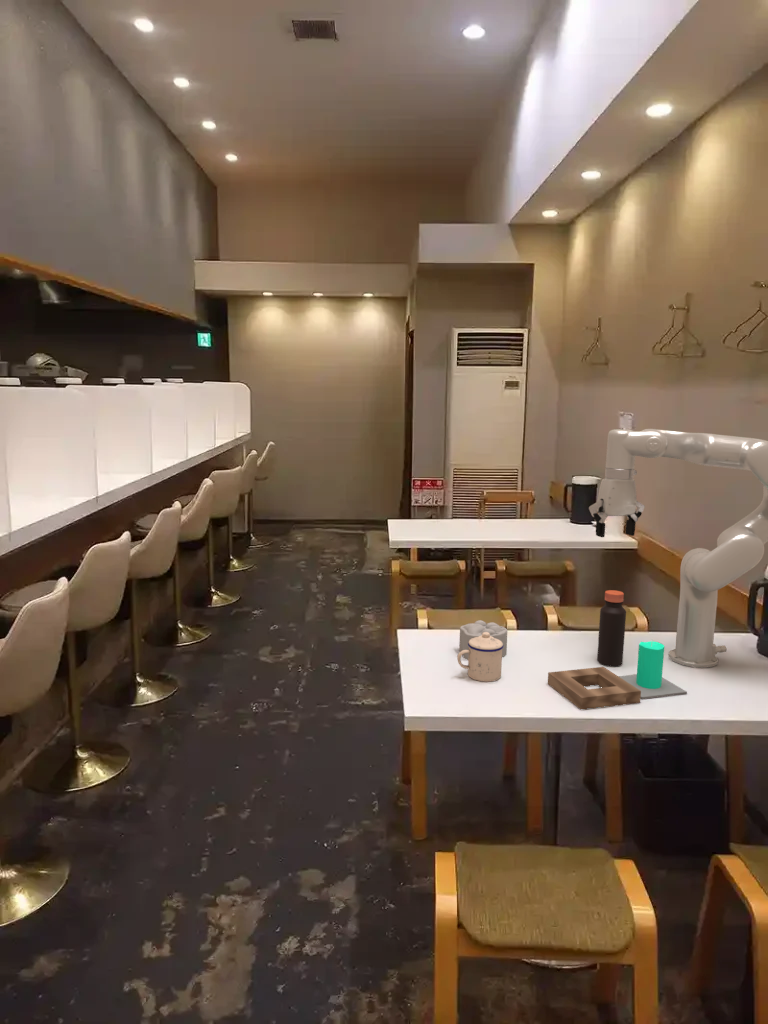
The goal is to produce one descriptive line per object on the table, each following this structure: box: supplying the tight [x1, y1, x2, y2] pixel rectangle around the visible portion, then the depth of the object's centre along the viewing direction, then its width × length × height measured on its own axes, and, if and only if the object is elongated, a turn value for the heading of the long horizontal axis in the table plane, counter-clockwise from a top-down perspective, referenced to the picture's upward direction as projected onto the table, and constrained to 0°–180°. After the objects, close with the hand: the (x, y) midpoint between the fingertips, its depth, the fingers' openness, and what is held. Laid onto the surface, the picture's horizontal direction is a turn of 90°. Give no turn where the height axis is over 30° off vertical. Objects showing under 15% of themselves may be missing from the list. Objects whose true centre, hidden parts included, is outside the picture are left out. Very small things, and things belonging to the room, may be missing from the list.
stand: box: [547, 666, 641, 710], centre depth 180 cm, size 16×16×3 cm
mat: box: [618, 673, 688, 700], centre depth 185 cm, size 13×13×1 cm
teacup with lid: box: [456, 632, 503, 683], centre depth 189 cm, size 12×9×12 cm
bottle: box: [596, 589, 627, 668], centre depth 199 cm, size 7×7×20 cm
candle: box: [636, 640, 665, 689], centre depth 184 cm, size 6×6×12 cm
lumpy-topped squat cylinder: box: [458, 619, 508, 660], centre depth 206 cm, size 10×13×9 cm
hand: (615, 535), depth 203 cm, fingers open, 9 cm apart
